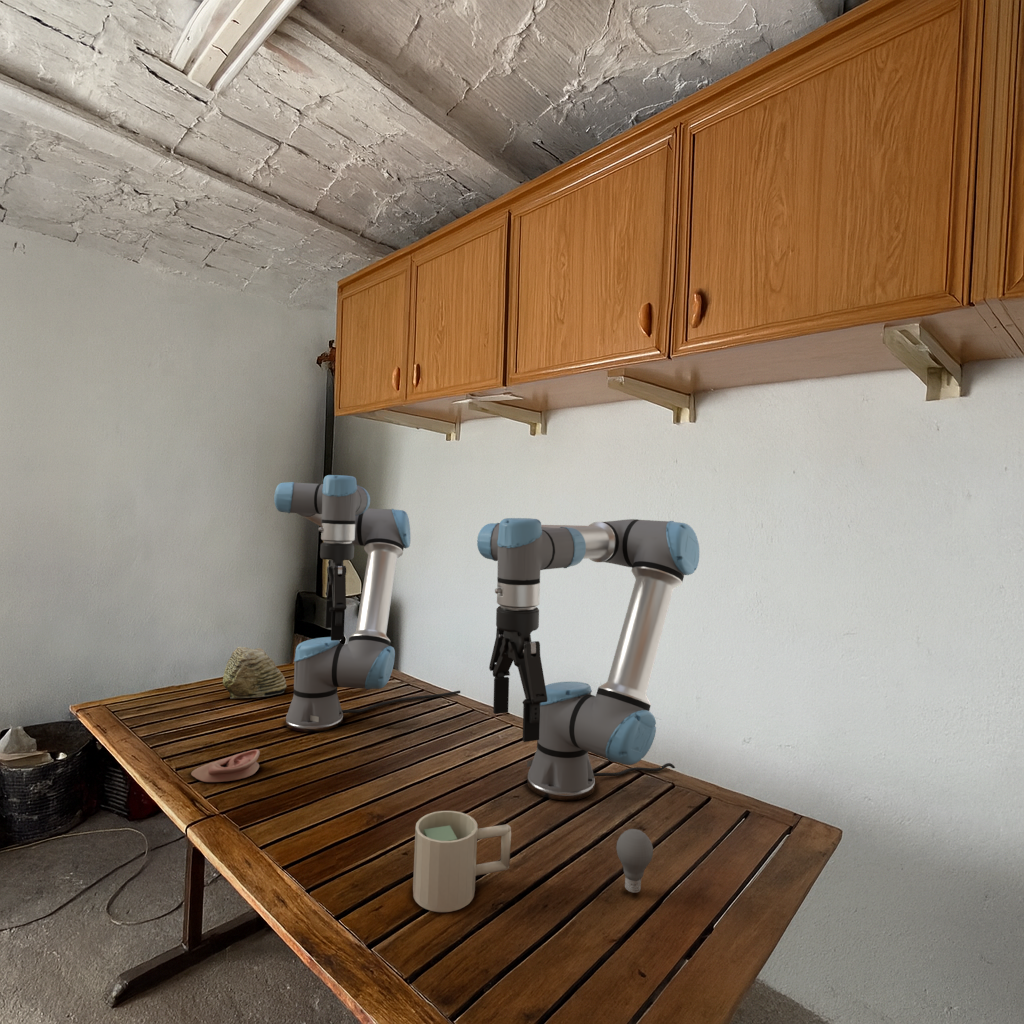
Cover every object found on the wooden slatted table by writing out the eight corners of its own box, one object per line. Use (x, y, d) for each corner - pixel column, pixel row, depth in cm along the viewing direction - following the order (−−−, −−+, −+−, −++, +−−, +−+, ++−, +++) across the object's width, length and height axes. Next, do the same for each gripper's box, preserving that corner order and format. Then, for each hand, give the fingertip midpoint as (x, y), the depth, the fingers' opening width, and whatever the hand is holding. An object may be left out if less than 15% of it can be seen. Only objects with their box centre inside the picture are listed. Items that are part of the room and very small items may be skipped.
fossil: (218, 695, 195) (220, 647, 195) (278, 685, 208) (279, 640, 207) (228, 703, 189) (230, 653, 188) (289, 692, 201) (290, 645, 201)
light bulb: (610, 879, 108) (613, 822, 108) (644, 879, 109) (647, 822, 109) (619, 902, 102) (622, 840, 102) (655, 901, 103) (658, 840, 103)
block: (421, 883, 104) (423, 829, 104) (447, 878, 106) (450, 825, 106) (427, 899, 100) (430, 843, 100) (455, 894, 102) (457, 838, 101)
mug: (420, 917, 97) (423, 846, 97) (407, 880, 106) (409, 815, 106) (519, 897, 103) (522, 830, 102) (498, 863, 112) (501, 802, 112)
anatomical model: (182, 760, 139) (216, 741, 150) (181, 778, 139) (216, 758, 150) (236, 768, 136) (267, 748, 147) (235, 786, 136) (266, 765, 147)
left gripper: (316, 537, 157) (313, 623, 157) (325, 546, 133) (321, 646, 134) (347, 538, 159) (344, 622, 160) (361, 546, 136) (358, 645, 136)
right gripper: (474, 595, 121) (471, 704, 122) (527, 622, 98) (523, 757, 99) (510, 593, 124) (507, 700, 125) (570, 619, 101) (566, 750, 102)
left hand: (334, 633), depth 147 cm, fingers open, 13 cm apart
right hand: (514, 725), depth 112 cm, fingers open, 13 cm apart
